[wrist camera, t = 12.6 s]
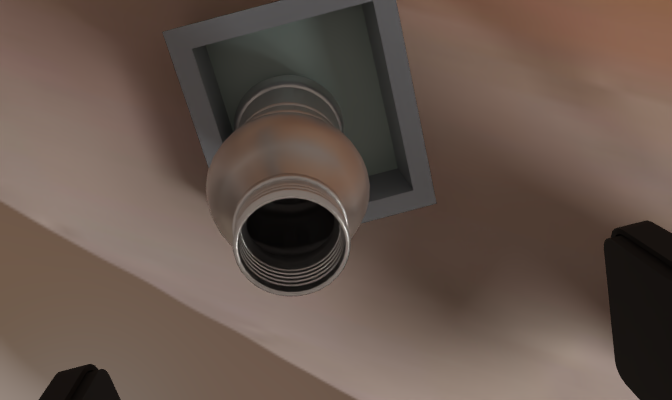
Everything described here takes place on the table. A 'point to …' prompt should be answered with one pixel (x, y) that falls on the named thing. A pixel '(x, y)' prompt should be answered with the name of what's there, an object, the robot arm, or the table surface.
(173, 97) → the table surface
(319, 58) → the grey open box
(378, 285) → the table surface
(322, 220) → the plastic bottle
